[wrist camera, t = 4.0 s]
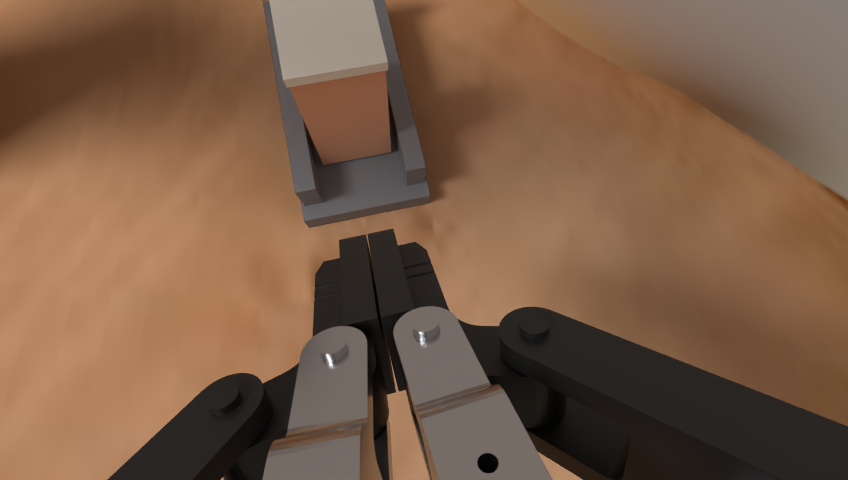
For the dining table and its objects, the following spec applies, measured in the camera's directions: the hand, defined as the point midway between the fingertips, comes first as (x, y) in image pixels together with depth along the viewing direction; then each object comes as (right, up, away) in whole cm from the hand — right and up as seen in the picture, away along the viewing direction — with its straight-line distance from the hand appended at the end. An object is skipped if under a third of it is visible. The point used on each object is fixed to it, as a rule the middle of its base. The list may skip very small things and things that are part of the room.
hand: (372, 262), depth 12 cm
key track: (-4, +10, +20) cm, 22 cm away
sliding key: (-4, +8, +17) cm, 20 cm away
